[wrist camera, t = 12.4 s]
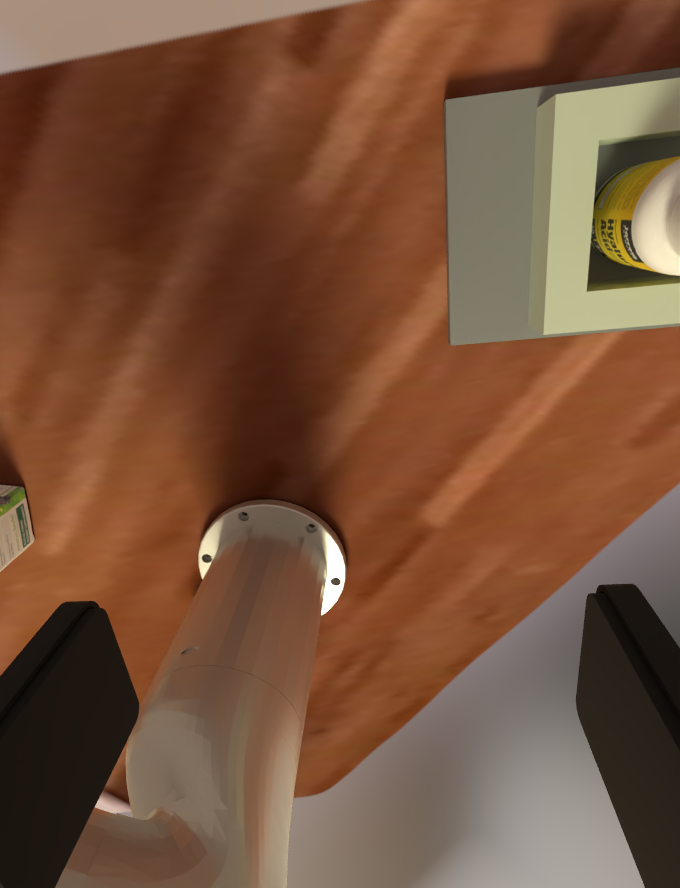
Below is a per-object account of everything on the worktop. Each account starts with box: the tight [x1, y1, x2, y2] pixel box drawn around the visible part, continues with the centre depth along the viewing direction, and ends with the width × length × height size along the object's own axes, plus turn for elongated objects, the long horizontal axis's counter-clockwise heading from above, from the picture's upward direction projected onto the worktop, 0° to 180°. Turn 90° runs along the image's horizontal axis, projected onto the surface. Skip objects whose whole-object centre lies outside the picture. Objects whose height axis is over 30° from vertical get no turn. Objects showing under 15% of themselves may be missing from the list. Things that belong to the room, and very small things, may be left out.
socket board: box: [443, 67, 680, 345], centre depth 29 cm, size 22×14×5 cm, turn 96°
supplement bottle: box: [591, 156, 680, 276], centre depth 26 cm, size 5×5×10 cm
